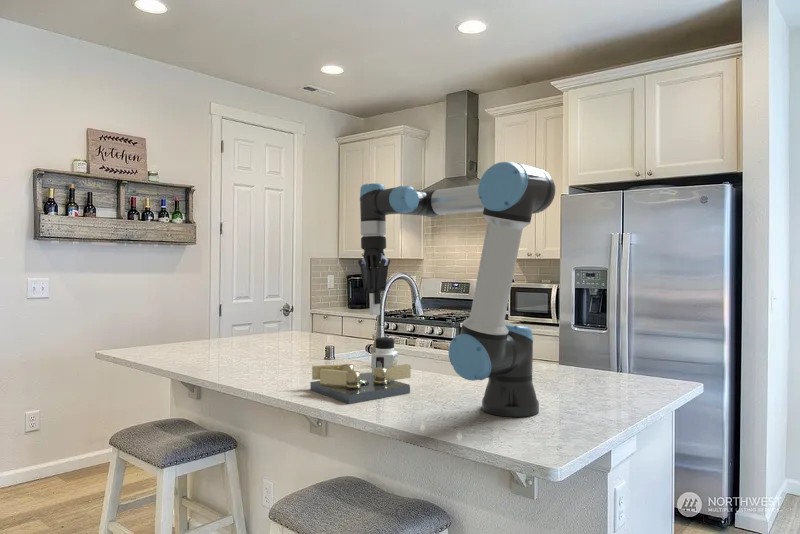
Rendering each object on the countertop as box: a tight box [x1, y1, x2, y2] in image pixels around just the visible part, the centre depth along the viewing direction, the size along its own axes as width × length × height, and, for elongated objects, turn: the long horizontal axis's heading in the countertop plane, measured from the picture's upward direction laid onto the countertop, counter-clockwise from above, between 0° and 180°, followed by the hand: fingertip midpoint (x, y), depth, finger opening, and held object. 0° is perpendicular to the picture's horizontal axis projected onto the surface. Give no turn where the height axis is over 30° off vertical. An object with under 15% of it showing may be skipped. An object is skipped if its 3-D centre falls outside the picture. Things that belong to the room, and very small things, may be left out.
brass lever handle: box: [311, 363, 355, 381], centre depth 184 cm, size 13×4×4 cm, turn 101°
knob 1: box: [319, 369, 361, 389], centre depth 175 cm, size 13×4×4 cm, turn 65°
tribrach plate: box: [309, 373, 411, 405], centre depth 179 cm, size 22×22×3 cm
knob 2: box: [373, 363, 412, 384], centre depth 182 cm, size 13×4×4 cm, turn 128°
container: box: [371, 336, 399, 375], centre depth 206 cm, size 8×8×13 cm
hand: (375, 314), depth 174 cm, fingers closed
